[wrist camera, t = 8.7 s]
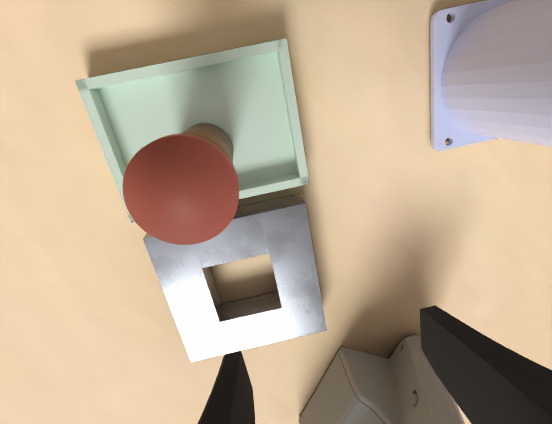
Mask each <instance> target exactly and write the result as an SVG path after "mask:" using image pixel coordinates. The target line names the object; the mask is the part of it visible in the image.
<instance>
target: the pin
mask: <svg viewBox="0 0 552 424" xmlns="http://www.w3.org/2000/svg"><path fill="white" fill-rule="evenodd" d="M123 197H124V201H125V204H126V207H127V209H128V211H129V213H130V215H131V216H132V218H133V219H134V221H135V222H136V223H137V224H138V225H139V226H140V227H141V228H142V229H143V230H144V231H146V232H147V233H148V234H150V235H151V236H153V237H155V238H157V239H159V240H161V241H164V242H167V243H171V244H177V245H193V244H198V243H202V242H205V241H208V240H210V239H212V238H214V237H215V236H217V235H218V234H220V233H221V232H222V231H223V230H224V229H225V228H226V227H227V226H228V225H229V224H230V222H231V221H232V219H233V217H234V216H235V213H236V211H237V207H238V203H239V181H238V176H237V173H236V170H235V168H234V165H233V144H232V141H231V139H230V137H229V136H228V134H227V133H226V132H225V131H224V130H223V129H221V128H220V127H218V126H216V125H214V124H210V123H199V124H196V125H193V126H192V127H190V128H188V129H187V130H185V131H184V132H183V133H181V134H172V135H167V136H164V137H161V138H159V139H156V140H154V141H153V142H151V143H149V144H147V145H146V146H144V147H143V148H141V149H140V150H139V151H138V152H137V153H136V154H135V155H134V156H133V157H132V159H131V160H130V162H129V164H128V166H127V168H126V170H125V174H124V177H123Z"/></svg>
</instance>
